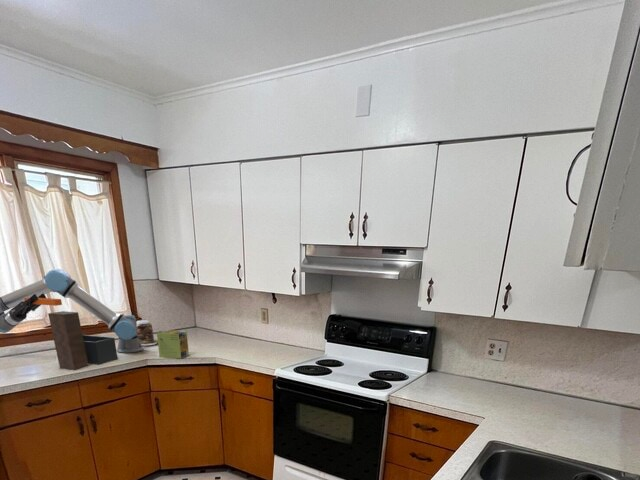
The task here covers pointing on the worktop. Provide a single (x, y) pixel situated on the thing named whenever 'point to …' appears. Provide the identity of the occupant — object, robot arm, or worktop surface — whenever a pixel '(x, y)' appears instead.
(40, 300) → the orange bar
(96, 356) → the trash bin
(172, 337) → the protein box
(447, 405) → the worktop surface
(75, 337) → the stand
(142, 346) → the robot arm
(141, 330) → the jar
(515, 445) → the worktop surface
